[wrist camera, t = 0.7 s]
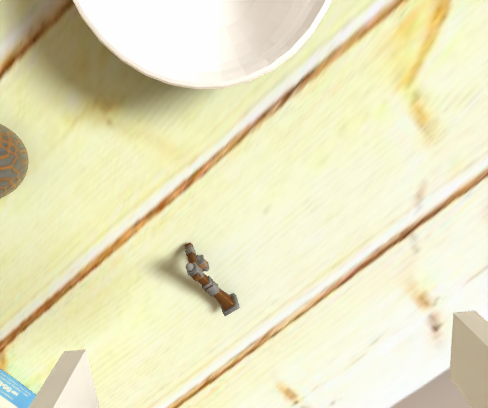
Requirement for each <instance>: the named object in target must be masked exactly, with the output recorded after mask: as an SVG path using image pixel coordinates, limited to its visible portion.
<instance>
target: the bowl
mask: <svg viewBox="0 0 488 408" xmlns="http://www.w3.org/2000/svg"><path fill="white" fill-rule="evenodd" d="M72 1H73V2H74V4H75V6H76V8H77V10H78V12H79V14H80V16H81V17H82V19H83V20H84V21H85V23H86V24H87V25H88V27H89V28H90V29H91V30H92V32H93V33H94V34H95V36H96V37H97V38H98V39H99V41H100V42H101V43H102V44H103V45H105V46H106V47H107V48H108V49H109V50H110V51H111V52H112V53H113V54H115V55H116V56H117V57H118V58H119V59H120V60H121V61H123V62H124V63H126V64H127V65H129V66H131V67H132V68H134V69H136V70H137V71H139V72H140V73H142V74H144V75H145V76H148V77H151V78H153V79H156V80H158V81H161V82H164V83H166V84H169V85H173V86H179V87H185V88H191V89H222V88H227V87H231V86H235V85H239V84H243V83H247V82H250V81H252V80H254V79H256V78H258V77H260V76H262V75H264V74H266V73H269V72H271V71H273V70H274V69H275V68H277V67H278V66H279V65H281V64H282V63H283V62H285V61H286V60H287V59H289V58H290V57H291V56H292V55H294V54H295V53H296V52H297V50H298V49H299V48H300V47H301V46H302V45H303V44H304V43H305V42H306V40H307V39H308V38H309V37H310V36H311V35H312V34H313V32H314V31H315V29H316V27H317V26H318V24H319V23H320V21H321V19H322V18H323V16H324V14H325V13H326V11H327V9H328V7H329V5H330V2H331V0H72Z"/></svg>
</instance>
